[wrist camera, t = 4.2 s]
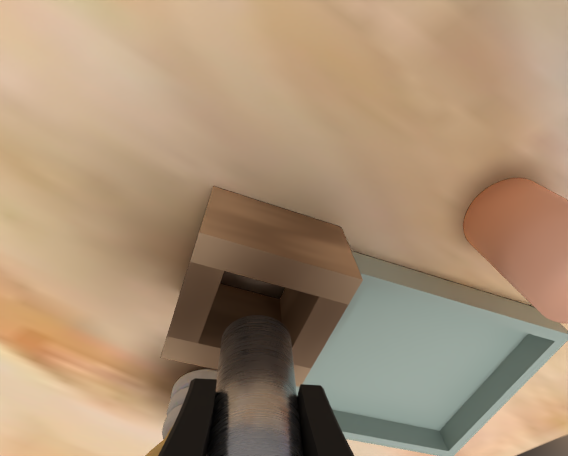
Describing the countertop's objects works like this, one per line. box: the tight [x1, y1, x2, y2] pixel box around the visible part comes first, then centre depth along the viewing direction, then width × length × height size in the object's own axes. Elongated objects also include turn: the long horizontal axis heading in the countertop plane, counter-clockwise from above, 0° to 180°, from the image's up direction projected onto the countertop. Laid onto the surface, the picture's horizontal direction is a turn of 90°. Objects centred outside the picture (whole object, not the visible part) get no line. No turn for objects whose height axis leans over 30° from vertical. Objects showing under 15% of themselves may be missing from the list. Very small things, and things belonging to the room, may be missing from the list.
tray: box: [296, 251, 568, 456], centre depth 20 cm, size 12×11×2 cm
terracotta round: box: [464, 178, 568, 323], centre depth 15 cm, size 4×4×5 cm
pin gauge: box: [207, 315, 303, 456], centre depth 9 cm, size 2×2×7 cm
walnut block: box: [160, 186, 363, 387], centre depth 15 cm, size 6×6×4 cm
